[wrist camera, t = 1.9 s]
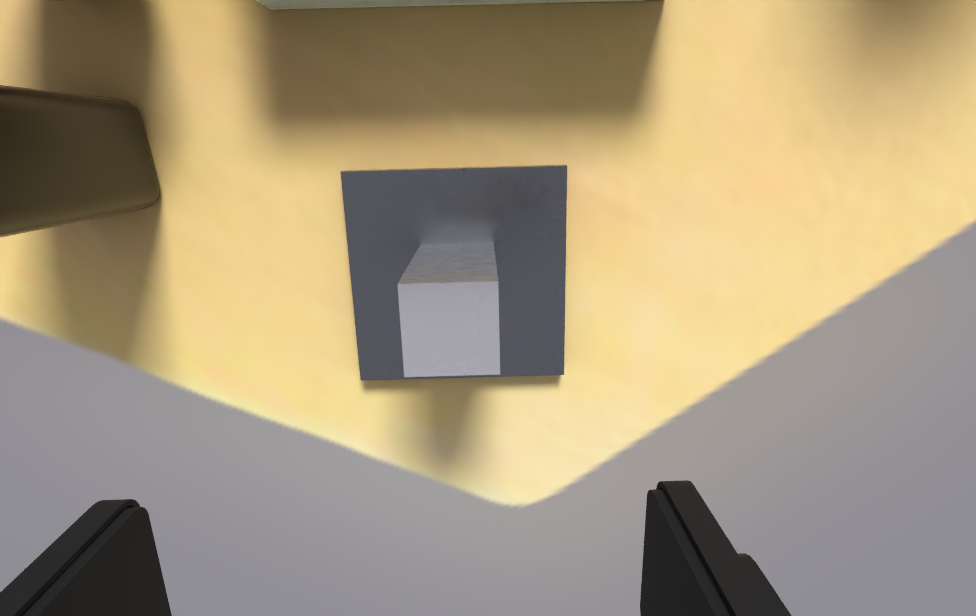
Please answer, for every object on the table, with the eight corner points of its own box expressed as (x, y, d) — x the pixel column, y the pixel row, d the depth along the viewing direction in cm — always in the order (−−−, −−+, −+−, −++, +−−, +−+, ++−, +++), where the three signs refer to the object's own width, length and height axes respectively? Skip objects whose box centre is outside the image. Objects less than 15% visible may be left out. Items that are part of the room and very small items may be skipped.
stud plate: (564, 164, 31) (578, 168, 26) (561, 368, 34) (573, 401, 30) (345, 170, 31) (322, 175, 26) (364, 373, 34) (346, 408, 30)
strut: (493, 242, 31) (498, 281, 22) (494, 312, 32) (500, 374, 23) (420, 244, 31) (397, 284, 22) (424, 313, 32) (404, 377, 23)
